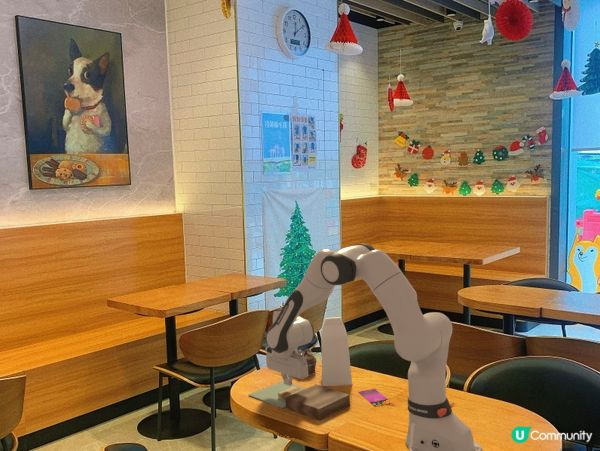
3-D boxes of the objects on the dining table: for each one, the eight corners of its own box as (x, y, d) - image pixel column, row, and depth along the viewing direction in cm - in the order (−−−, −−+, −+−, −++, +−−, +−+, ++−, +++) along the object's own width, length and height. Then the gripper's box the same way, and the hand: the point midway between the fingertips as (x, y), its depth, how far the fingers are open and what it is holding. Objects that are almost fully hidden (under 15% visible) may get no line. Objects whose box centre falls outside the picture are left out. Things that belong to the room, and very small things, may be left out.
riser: (350, 405, 204) (349, 394, 203) (319, 420, 193) (318, 409, 192) (316, 394, 216) (315, 384, 215) (286, 408, 205) (285, 397, 204)
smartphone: (374, 408, 201) (374, 406, 201) (358, 393, 215) (358, 390, 215) (392, 405, 203) (392, 402, 203) (375, 390, 217) (375, 387, 217)
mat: (317, 393, 217) (317, 392, 217) (283, 408, 204) (282, 407, 204) (282, 382, 231) (282, 381, 231) (248, 395, 219) (248, 394, 219)
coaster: (308, 396, 213) (307, 391, 213) (292, 403, 208) (292, 397, 207) (293, 391, 219) (293, 386, 219) (278, 398, 213) (277, 392, 213)
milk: (322, 386, 224) (318, 322, 222) (322, 376, 236) (318, 315, 234) (352, 384, 224) (348, 320, 222) (350, 374, 235) (347, 313, 233)
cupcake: (292, 370, 244) (290, 348, 244) (313, 367, 247) (311, 345, 246) (298, 377, 235) (297, 354, 235) (320, 374, 238) (318, 351, 237)
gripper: (311, 352, 209) (313, 388, 210) (274, 342, 223) (276, 376, 224) (298, 356, 204) (301, 393, 205) (262, 346, 219) (264, 381, 220)
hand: (288, 384), depth 215 cm, fingers closed
